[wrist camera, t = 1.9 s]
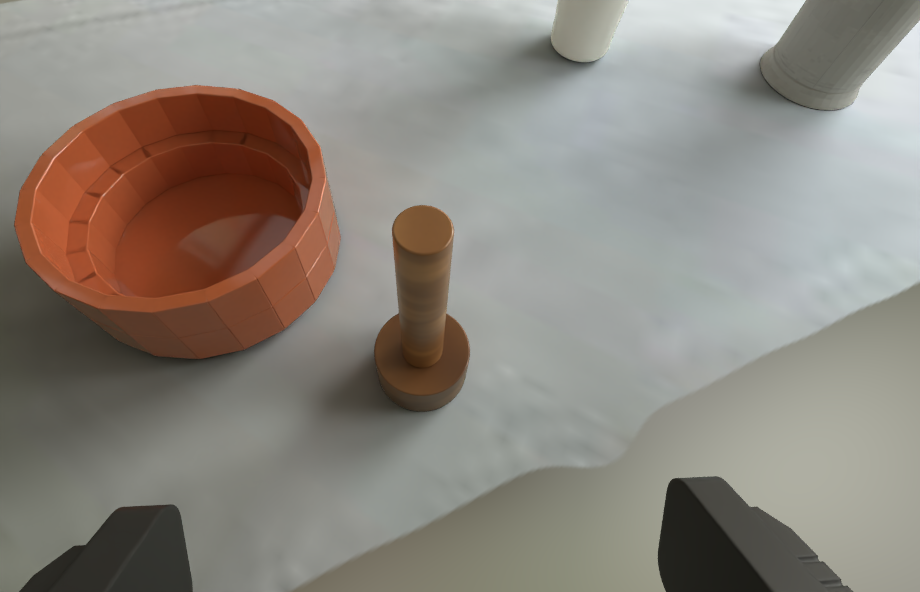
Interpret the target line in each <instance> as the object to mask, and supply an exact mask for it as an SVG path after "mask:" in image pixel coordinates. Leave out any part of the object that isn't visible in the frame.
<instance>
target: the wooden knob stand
mask: <svg viewBox="0 0 920 592" xmlns="http://www.w3.org/2000/svg"><path fill="white" fill-rule="evenodd" d="M392 236H393V248H394V260H395V272H396V284H397V296H398V308H399V314H397V315H395V316H394V317H392V318H391V319H390V320H389V321H388V322H387V323H386V324H385V325H384V326H383V327H382V329H381V330H380V332H379V334H378V336H377V339H376V343H375V349H374V357H375V362H376V367H377V372H378V376H379V381H380V384H381V386H382V388H383V390H384V392H385V393H386V395H387V396H388V397H389V398H390V399H391V400H392V401H393V402H394V403H396V404H397V405H399V406H401V407H403V408H405V409H408V410H412V411H422V412H424V411H431V410H435V409H438V408H441V407H443V406H444V405H446V404H448V403H449V402H450V401H452V400H453V399H454V398H455V397H456V395H457V394H458V393H459V391H460V390H461V388H462V386H463V383H464V380H465V376H466V372H467V367H468V363H469V357H470V346H469V341H468V338H467V335H466V333H465V331H464V330H463V328H462V327H461V325H460V324H459V323H458V322H457V321H456V320H455V319H454V318H452V317H451V316H450V315H448V314H446V311H447V300H448V290H449V279H450V269H451V259H452V248H453V238H454V227H453V224H452V222H451V220H450V218H449V217H448V216H447V215H446V214H445V213H444V212H443V211H441V210H440V209H438V208H435V207H432V206H427V205H419V206H413V207H410V208H408V209H406V210H404V211H403V212H401V213H400V214H399V215H398V216H397V218H396V219H395V221H394V223H393V227H392Z"/></svg>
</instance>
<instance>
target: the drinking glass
mask: <svg viewBox="0 0 920 592" xmlns="http://www.w3.org/2000/svg"><path fill="white" fill-rule="evenodd" d="M628 2H629V0H558V2H557V8H556V14H555V19H554V23H553V27H552V32H551V42H552V45H553V47H554V49H555V50H556V51H557V52H558V53H559V54H560V55H562V56H563V57H565V58H567V59H569V60H572V61H577V62H592V61H595V60H598V59H600V58H601V57H603V56H604V55H605V54H606V53H607V51H608V49H609V47H610V45H611V42H612V39H613V36H614V34H615V31H616V29H617V26H618V24H619V22H620V19H621V17H622V15H623V13H624V11H625V8H626V6H627V4H628Z"/></svg>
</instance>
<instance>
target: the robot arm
mask: <svg viewBox="0 0 920 592" xmlns="http://www.w3.org/2000/svg"><path fill="white" fill-rule="evenodd" d="M658 565H659V571H660V576H661V579H662V582H663V585H664V588H665V590H666V592H853V591H852V590H851V589H850V588H849V587H848V586H843V585H842V583H841V579H840V578H839V577H838V576H837V575H836V574H835V573H834V572H833V571H832V570H831V569H830V568H829V567H828V566H827V565H826V564H825V563H824V562H820V561H819V560H818V556H817V555H816V554H815V553H814V552H813V551H812V550H811V549H810V547H809V546H808V545H807V544H805V542H804V541H803V540H801V538H800V537H799V536H798V535H797V534H796V533H795V532H794V531H793V530H792V529H791V528H789V527H788V526H786V525H784V524H783V523H781V522H780V521H778V520H777V519H775V518H773V517H772V516H770V515H769V514H767V513H766V512H764V511H763V510H761V509H759V508H758V507H749V506H748V505H747V504H746V502H745V501H744V500H743V499H742V498H741V497H740V496H739V495H738V494H737V493H736V492H735V491H734V490H733V488H732V487H731V486H730V485H729V484H728V483H727V482H726V481H724V479H722V478H720V477H716V476H715V477H695V478H694V477H693V478H675V479H672V480H671V481H670V483H669V485H668V488H667V493H666V500H665V507H664V514H663V521H662V528H661V534H660V541H659V548H658ZM192 591H193V588H192V578H191V572H190V566H189V561H188V555H187V549H186V543H185V538H184V532H183V526H182V520H181V515H180V512H179V510H178V508H177V507H176V506H175V505H153V506H133V507H121V508H118V509H117V510H115V511H114V512H113V513H112V514H111V515H110V516H109V518H108V519H107V520H106V521H105V522H104V524H103V525H102V526H101V527H100V529H99V530H98V531H97V532H96V533H95V535H94V536H93V537H92V538H91V539H90V541H89V542H88V543H87V544H86V545H82V546H73V547H72V548H71V549H69V550H68V551H66V552H65V553H64V554H62V555H61V556H60V557H58V558H57V559H55V560H54V561H53V562H51V563H50V564H49V565H47V566H46V567H44V568H43V569H42V570H40V571H39V572H38V573H36V574H35V575H34V576H33V577H32V578H31V579H30V580H29V581H28V582H27V583H26V585H25V586H24V587H23V588H22V589H21V590H20V591H19V592H192Z"/></svg>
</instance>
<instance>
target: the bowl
mask: <svg viewBox="0 0 920 592" xmlns="http://www.w3.org/2000/svg"><path fill="white" fill-rule="evenodd" d="M14 227H15V231H16V234H17V237H18V240H19V243H20V247H21V250H22V253H23V256H24V259H25V262H26V264H27V265H28V266H29V267H30V268H31V269H32V270H33V271H34V272H35V273H36V274H37V275H38V276H39V277H40V278H41V279H42V280H43V281H44V282H45V283H46V284H47V285H48V286H49V287H50V288H51V289H52V290H53V291H54V292H56V293H57V294H58V295H60V296H61V297H62V298H63V299H65V300H66V301H67V302H69V303H70V304H71V305H72V306H74V307H75V308H76V309H78V310H79V311H80V312H81V313H83V314H84V315H85V316H87V317H88V318H89V319H91V320H92V321H93V322H95V323H96V324H97V325H98V326H100V327H101V328H102V329H104V330H105V331H106V332H107V333H109V334H110V335H111V336H113V337H114V338H115V339H117V340H118V341H120V342H122V343H125V344H127V345H130V346H132V347H135V348H137V349H139V350H142V351H144V352H147V353H149V354H152V355H155V356H161V357H175V358H190V359H203V358H208V357H212V356H217V355H222V354H227V353H232V352H236V351H241V350H244V349H247V348H249V347H251V346H253V345H255V344H257V343H259V342H261V341H263V340H265V339H267V338H269V337H271V336H273V335H275V334H277V333H279V332H281V331H283V330H284V329H285V328H287V327H288V326H289V325H290V324H291V323H292V322H293V321H295V320H296V319H297V318H298V317H299V316H300V315H301V314H302V313H303V312H305V311H306V310H307V309H308V308H309V307H310V306H311V305H312V304H313V303H314V302H315V301H316V300H317V298H318V297H319V295H320V293H321V292H322V290H323V288H324V287H325V285H326V283H327V282H328V280H329V278H330V277H331V275H332V273H333V272H334V269H335V265H336V260H337V255H338V250H339V245H340V240H341V239H340V238H341V236H340V231H339V226H338V221H337V216H336V211H335V206H334V202H333V198H332V194H331V189H330V185H329V181H328V177H327V172H326V168H325V164H324V160H323V155H322V151H321V148H320V145H319V144H318V143H317V141H316V140H315V138H314V137H313V135H312V134H311V133H310V131H309V130H308V128H307V127H306V125H305V124H304V122H303V121H302V120H301V119H300V118H298V117H297V116H295V115H294V114H292V113H291V112H290V111H288V110H287V109H285V108H284V107H282V106H281V105H279V104H278V103H277V102H275V101H273V100H271V99H268V98H265V97H262V96H259V95H256V94H253V93H250V92H247V91H244V90H241V89H235V88H224V87H212V86H201V85H193V86H184V87H175V88H167V89H158V90H155V91H150V92H147V93H144V94H141V95H138V96H135V97H132V98H128V99H125V100H122V101H119V102H116V103H113V104H111V105H109V106H107V107H105V108H104V109H102V110H100V111H98V112H97V113H95V114H93V115H91V116H89V117H88V118H86V119H84V120H82V121H80V122H79V123H77V124H75V125H74V126H72V127H71V128H70V129H69V130H68V131H67V132H66V133H64V134H63V135H62V136H61V137H60V138H59V139H58V140H57V141H56V142H55V143H53V144H52V145H51V146H50V147H49V148H48V149H47V150H46V151H45V152H44V153H43V154H42V155H41V156H40V158H39V159H38V161H37V163H36V164H35V166H34V168H33V169H32V171H31V173H30V174H29V176H28V177H27V179H26V181H25V182H24V184H23V186H22V187H21V190H20V193H19V199H18V205H17V211H16V217H15V223H14Z"/></svg>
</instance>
